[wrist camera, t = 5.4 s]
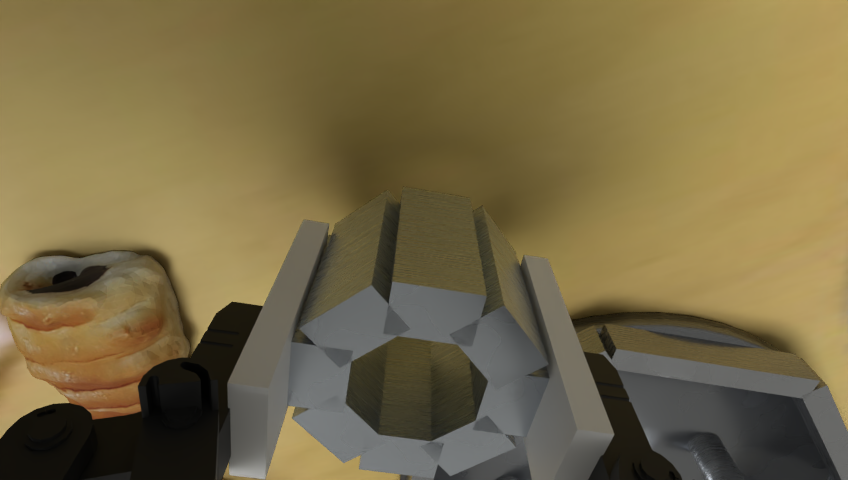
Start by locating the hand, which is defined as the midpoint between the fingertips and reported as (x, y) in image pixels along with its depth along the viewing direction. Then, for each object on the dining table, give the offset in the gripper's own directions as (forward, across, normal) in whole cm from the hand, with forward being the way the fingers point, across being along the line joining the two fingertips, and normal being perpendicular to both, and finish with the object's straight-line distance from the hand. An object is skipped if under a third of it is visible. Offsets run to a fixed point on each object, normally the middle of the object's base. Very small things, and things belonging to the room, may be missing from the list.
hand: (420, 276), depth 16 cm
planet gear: (0, 0, 0) cm, 0 cm away
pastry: (+5, -12, -8) cm, 16 cm away
